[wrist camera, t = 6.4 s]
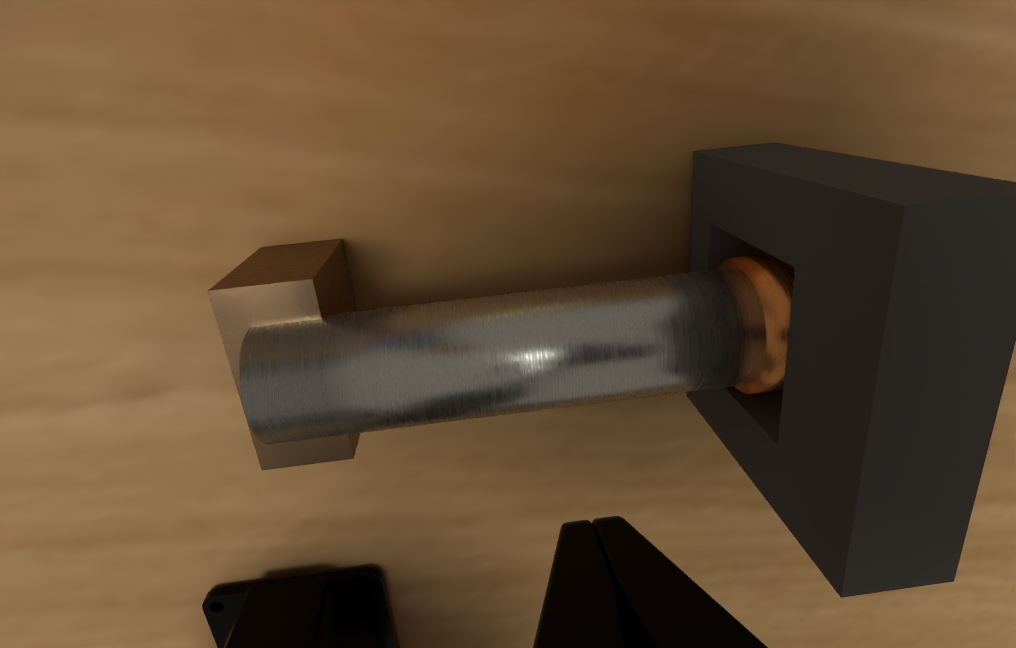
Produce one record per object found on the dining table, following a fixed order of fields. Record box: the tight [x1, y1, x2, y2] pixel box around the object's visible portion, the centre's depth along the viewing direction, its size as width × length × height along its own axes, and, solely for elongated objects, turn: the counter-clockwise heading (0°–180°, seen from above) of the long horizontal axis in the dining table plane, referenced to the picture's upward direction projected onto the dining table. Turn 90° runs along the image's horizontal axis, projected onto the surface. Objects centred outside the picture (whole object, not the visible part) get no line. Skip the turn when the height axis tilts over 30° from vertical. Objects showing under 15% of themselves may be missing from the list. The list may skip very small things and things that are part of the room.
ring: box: [687, 143, 1016, 597], centre depth 14 cm, size 2×8×8 cm, turn 5°
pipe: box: [208, 239, 795, 470], centre depth 16 cm, size 18×5×6 cm, turn 95°
